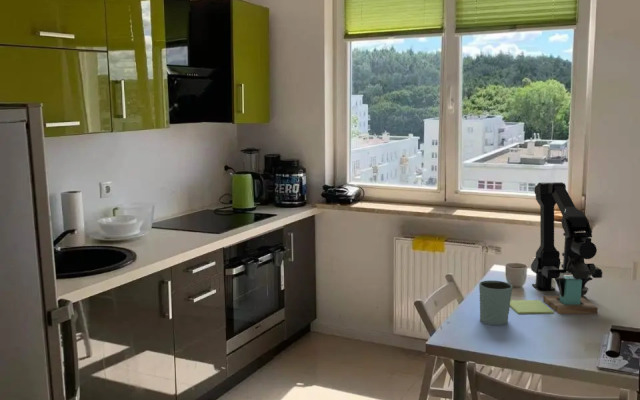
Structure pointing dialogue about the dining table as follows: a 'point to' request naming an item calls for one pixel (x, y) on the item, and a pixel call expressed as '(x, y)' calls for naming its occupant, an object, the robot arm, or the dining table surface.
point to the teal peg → (571, 291)
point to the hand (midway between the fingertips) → (570, 296)
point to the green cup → (494, 302)
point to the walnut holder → (569, 306)
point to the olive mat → (529, 307)
